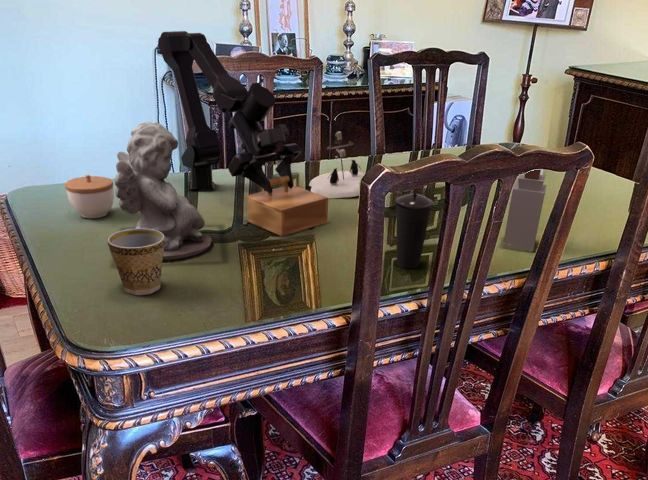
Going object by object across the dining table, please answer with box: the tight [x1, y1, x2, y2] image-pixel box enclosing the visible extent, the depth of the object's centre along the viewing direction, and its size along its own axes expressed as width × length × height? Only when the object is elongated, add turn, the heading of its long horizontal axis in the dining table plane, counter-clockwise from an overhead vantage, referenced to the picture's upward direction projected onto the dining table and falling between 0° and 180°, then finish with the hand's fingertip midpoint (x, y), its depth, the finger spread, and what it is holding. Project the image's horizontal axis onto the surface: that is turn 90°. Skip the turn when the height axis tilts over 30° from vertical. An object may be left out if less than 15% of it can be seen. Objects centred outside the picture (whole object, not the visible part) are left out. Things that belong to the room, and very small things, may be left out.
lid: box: [244, 176, 329, 213], centre depth 151 cm, size 13×15×5 cm
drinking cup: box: [394, 188, 434, 269], centre depth 130 cm, size 8×8×20 cm
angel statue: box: [114, 121, 215, 263], centre depth 133 cm, size 22×22×25 cm
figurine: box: [308, 131, 365, 199], centre depth 175 cm, size 20×18×16 cm
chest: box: [246, 199, 329, 237], centre depth 153 cm, size 13×15×5 cm
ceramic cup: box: [106, 227, 164, 296], centre depth 119 cm, size 13×10×10 cm
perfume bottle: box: [502, 169, 548, 253], centre depth 142 cm, size 7×7×18 cm
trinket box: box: [64, 174, 115, 219], centre depth 152 cm, size 11×11×9 cm
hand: (281, 190), depth 152 cm, fingers open, 6 cm apart
